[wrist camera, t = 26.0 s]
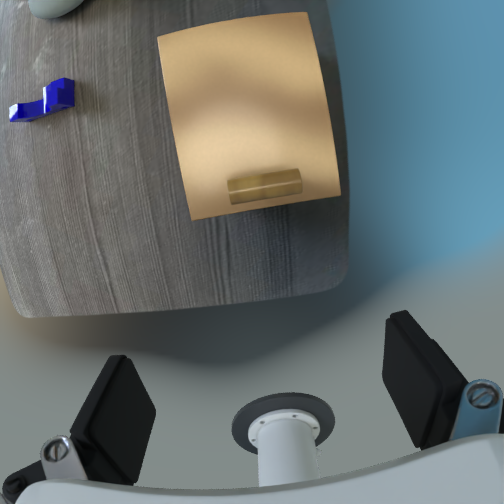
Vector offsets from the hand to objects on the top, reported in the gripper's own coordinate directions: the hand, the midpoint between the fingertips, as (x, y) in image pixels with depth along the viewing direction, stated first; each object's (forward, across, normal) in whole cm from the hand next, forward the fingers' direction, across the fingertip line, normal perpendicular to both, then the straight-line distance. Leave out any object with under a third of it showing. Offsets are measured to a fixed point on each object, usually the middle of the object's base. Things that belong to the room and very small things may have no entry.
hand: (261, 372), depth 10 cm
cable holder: (+26, +22, -20) cm, 40 cm away
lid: (+17, -2, -10) cm, 20 cm away
